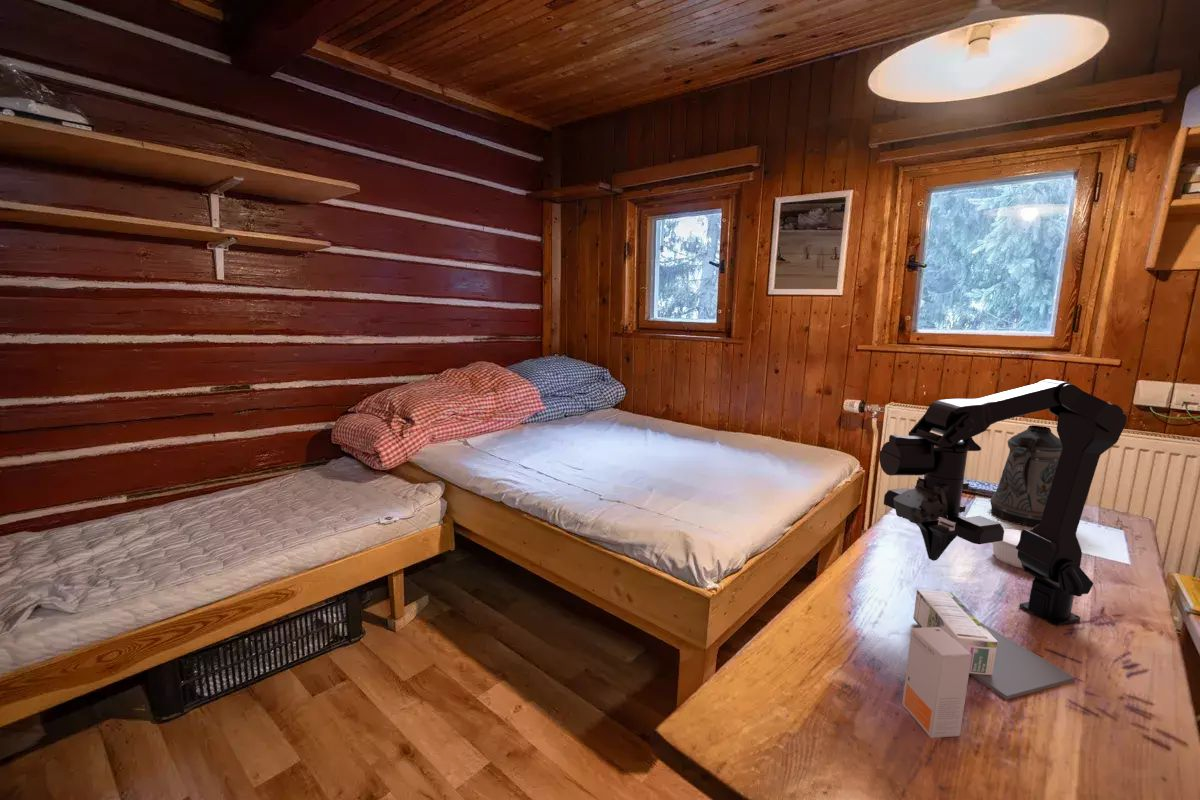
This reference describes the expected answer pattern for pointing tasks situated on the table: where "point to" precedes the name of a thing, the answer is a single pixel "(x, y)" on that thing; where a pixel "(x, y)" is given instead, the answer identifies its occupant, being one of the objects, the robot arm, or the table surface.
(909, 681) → the skincare box
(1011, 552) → the ramekin
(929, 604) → the syrup box
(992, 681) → the mat
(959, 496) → the robot arm
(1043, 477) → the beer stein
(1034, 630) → the table surface
